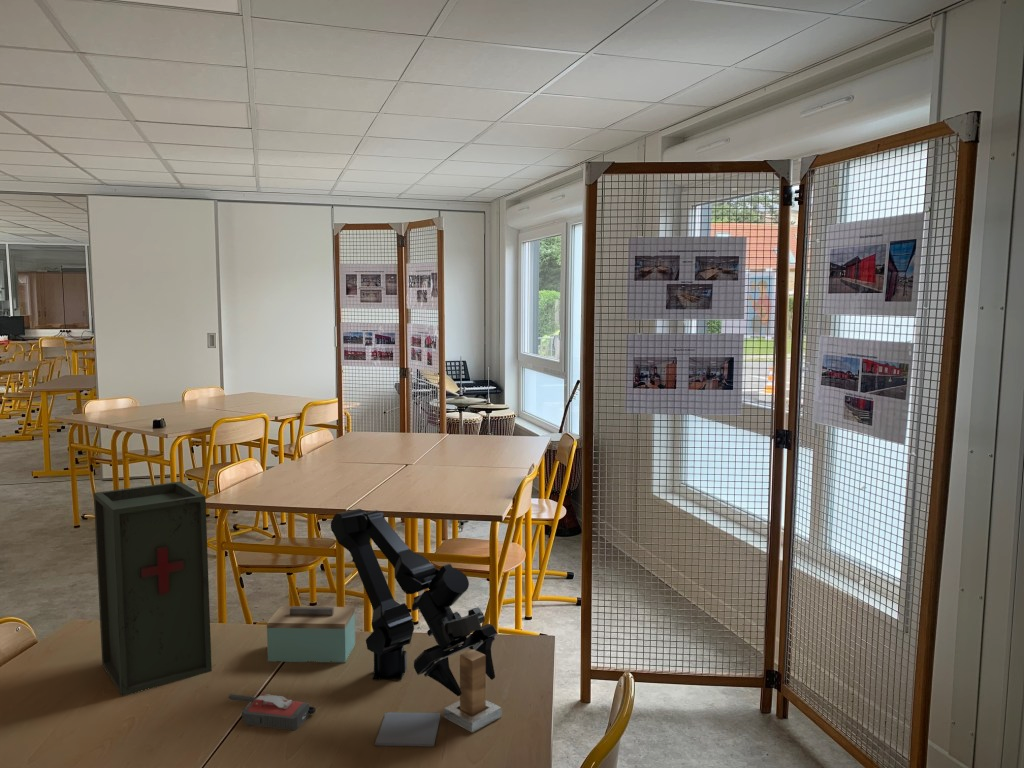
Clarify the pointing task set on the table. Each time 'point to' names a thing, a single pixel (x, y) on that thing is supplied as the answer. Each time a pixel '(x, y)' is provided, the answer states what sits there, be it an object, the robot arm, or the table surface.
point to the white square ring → (476, 721)
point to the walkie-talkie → (274, 711)
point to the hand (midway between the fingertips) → (477, 686)
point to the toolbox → (311, 634)
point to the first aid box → (153, 584)
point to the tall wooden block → (473, 682)
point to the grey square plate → (408, 729)
